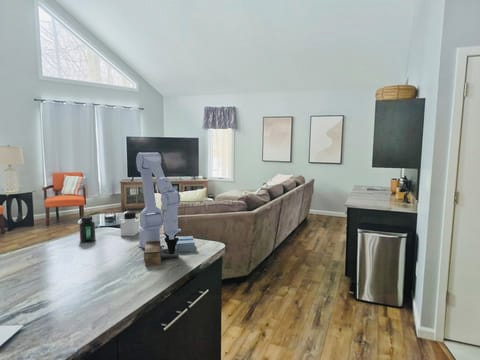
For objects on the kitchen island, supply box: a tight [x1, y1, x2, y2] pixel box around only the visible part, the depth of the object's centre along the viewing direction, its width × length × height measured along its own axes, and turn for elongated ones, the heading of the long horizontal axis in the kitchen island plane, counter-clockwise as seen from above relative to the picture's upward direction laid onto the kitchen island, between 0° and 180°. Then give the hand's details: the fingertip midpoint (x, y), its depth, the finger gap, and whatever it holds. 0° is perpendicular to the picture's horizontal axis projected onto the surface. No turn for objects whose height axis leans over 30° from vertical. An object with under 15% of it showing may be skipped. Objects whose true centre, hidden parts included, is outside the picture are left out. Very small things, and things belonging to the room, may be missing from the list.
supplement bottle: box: [78, 215, 96, 244], centre depth 156 cm, size 7×7×12 cm
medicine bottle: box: [119, 210, 140, 237], centre depth 168 cm, size 7×7×12 cm
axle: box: [143, 248, 180, 261], centre depth 134 cm, size 14×4×4 cm, turn 104°
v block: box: [175, 235, 196, 253], centre depth 148 cm, size 8×10×4 cm
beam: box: [144, 240, 162, 267], centre depth 133 cm, size 6×14×6 cm, turn 14°
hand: (171, 251), depth 135 cm, fingers open, 7 cm apart
